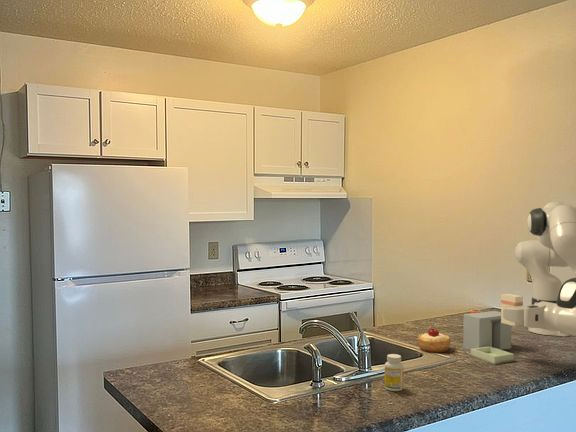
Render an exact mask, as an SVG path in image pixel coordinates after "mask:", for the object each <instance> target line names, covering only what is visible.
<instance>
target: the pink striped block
mask: <svg viewBox="0 0 576 432" xmlns="http://www.w3.org/2000/svg"><path fill="white" fill-rule="evenodd" d="M500 298H501V299H500V304H501V305H500V308H501V309H500V312H501V323H504V324H508V325H511V327H519V326H523V324H518V323H515V322H511V321H508V320H506V319H504V318H503V308H505V307H507V306H510V307H516V306H524V300H523V299H524V297H523V295H517V294H513V293H504V294H501V296H500Z"/></svg>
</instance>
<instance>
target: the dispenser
mask: <svg viewBox="0 0 576 432" xmlns="http://www.w3.org/2000/svg"><path fill="white" fill-rule="evenodd" d="M462 325H463V328H462V329H463V331H462V332H463V334H462V335H463V338H462V339H463V341H462V343H463V344H462V348H463V349H465V350H468V351H471V349H474V348H481V347H488V346H490V347H493V348H496V349H500V350H503V351H505V350H509V349H512V325H508V324H504V323H501V311H497V310H492V311H490V310H489V311H481V312H480V313H471V312H470V313H464V314H463V324H462Z"/></svg>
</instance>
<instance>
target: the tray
mask: <svg viewBox="0 0 576 432" xmlns="http://www.w3.org/2000/svg"><path fill="white" fill-rule="evenodd" d="M514 354H515V353H512V352H509V351H506V350H500V349H496V348H493V347H490V346H488V347H481V348H474V349H471V350H470V357H472V358H474V359H475V358H476V359H478V360H481V361H484V362H487V363H489V364H492V365H498V364H504V363H511V362H514V361H515V359H514V358H515V356H514Z"/></svg>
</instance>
